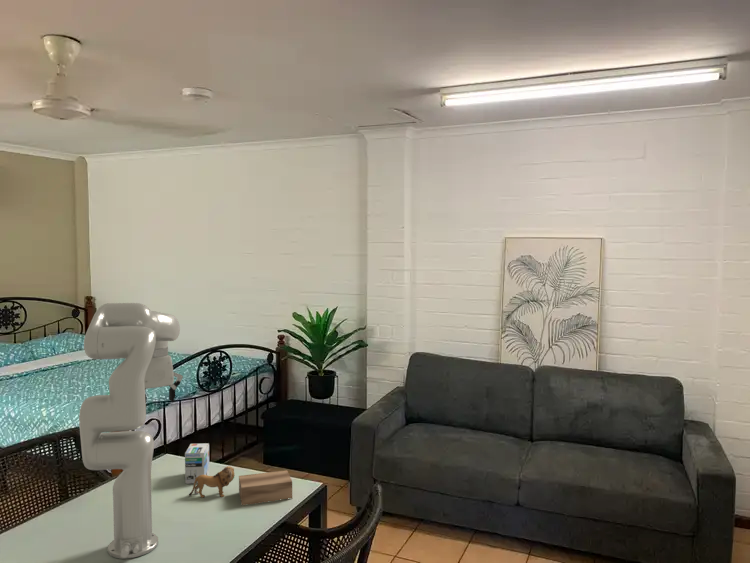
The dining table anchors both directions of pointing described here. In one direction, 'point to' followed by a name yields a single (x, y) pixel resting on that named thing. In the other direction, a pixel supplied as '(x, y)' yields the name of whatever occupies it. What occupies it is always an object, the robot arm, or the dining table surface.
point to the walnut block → (265, 487)
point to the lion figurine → (214, 481)
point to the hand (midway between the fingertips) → (157, 402)
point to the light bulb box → (196, 462)
